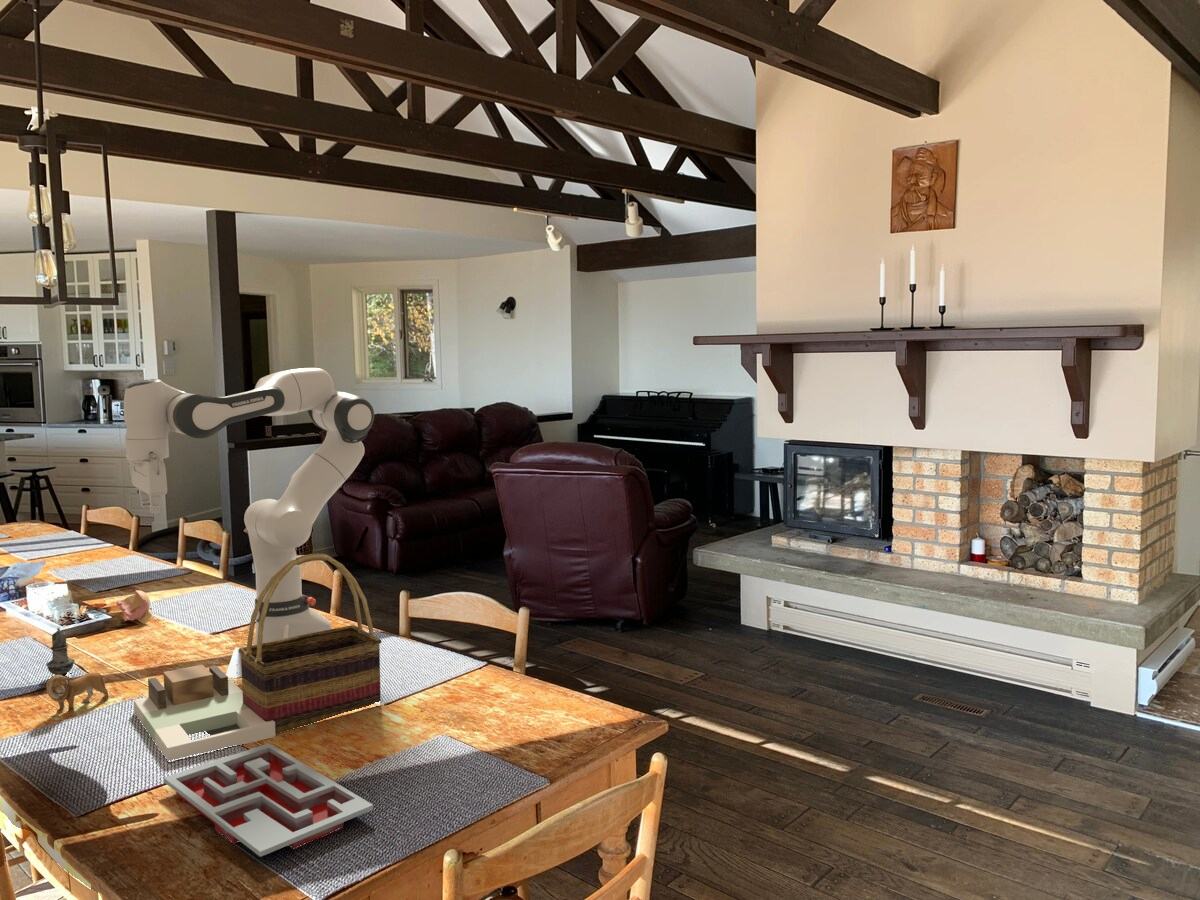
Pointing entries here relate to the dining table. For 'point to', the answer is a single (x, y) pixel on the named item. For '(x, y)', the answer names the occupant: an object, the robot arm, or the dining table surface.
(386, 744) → the dining table surface
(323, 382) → the robot arm
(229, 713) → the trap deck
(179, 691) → the tan square block
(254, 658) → the basket
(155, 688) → the dark brown bars
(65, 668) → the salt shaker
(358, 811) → the maze game
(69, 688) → the lion figurine
